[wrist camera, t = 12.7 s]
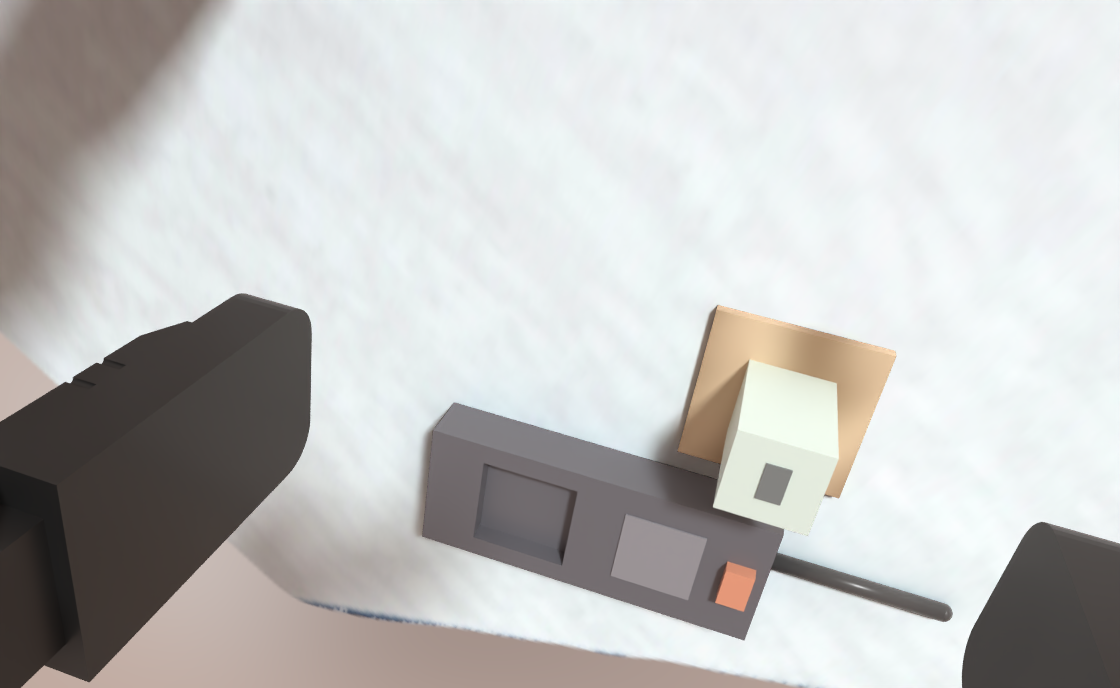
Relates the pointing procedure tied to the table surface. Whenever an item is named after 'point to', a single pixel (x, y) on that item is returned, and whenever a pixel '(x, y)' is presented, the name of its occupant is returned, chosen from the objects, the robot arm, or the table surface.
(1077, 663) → the robot arm
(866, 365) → the cork mat
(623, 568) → the power strip
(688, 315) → the table surface
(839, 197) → the table surface
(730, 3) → the table surface
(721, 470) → the block
